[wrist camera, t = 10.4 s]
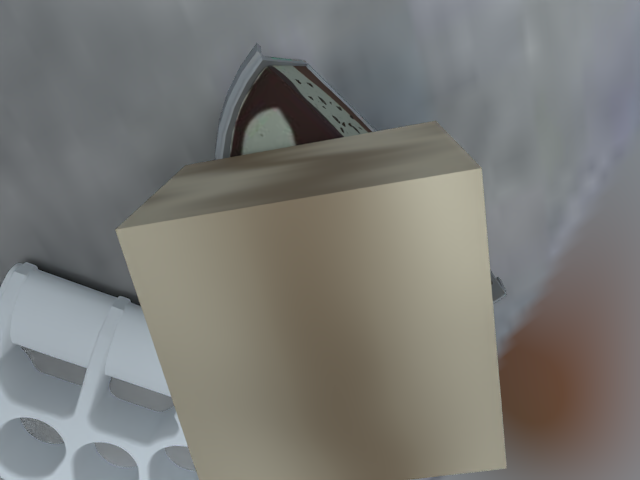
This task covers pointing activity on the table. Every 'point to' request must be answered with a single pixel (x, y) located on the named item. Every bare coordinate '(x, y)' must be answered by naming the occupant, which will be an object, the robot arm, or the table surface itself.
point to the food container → (287, 113)
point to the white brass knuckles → (75, 400)
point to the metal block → (326, 309)
